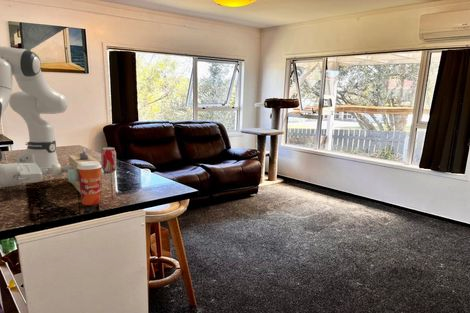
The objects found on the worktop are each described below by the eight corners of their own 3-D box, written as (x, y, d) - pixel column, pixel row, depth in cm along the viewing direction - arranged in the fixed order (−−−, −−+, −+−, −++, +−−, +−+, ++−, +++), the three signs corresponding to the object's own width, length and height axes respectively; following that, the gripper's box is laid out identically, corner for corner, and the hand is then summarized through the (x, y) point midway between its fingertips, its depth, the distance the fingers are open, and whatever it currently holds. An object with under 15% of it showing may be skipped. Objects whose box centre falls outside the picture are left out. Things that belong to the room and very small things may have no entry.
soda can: (111, 173, 164) (110, 149, 162) (99, 172, 166) (97, 148, 163) (119, 170, 171) (118, 147, 169) (107, 169, 172) (106, 146, 170)
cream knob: (53, 177, 137) (53, 165, 136) (52, 174, 141) (51, 163, 140) (87, 173, 144) (86, 162, 143) (84, 171, 148) (83, 160, 147)
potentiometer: (78, 159, 138) (77, 149, 137) (83, 158, 141) (83, 148, 140) (85, 160, 137) (84, 149, 136) (90, 158, 140) (89, 148, 139)
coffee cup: (81, 207, 116) (79, 166, 113) (76, 201, 122) (74, 162, 119) (106, 203, 121) (104, 164, 118) (100, 197, 127) (98, 160, 124)
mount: (81, 194, 130) (79, 165, 128) (70, 181, 147) (68, 155, 145) (102, 191, 135) (101, 163, 133) (89, 179, 152) (87, 153, 150)
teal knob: (70, 183, 129) (69, 171, 128) (68, 180, 133) (67, 168, 132) (104, 179, 137) (104, 167, 136) (101, 176, 140) (100, 165, 140)
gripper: (14, 172, 121) (55, 168, 129) (10, 161, 137) (48, 158, 146) (15, 188, 123) (57, 183, 131) (12, 176, 139) (49, 172, 147)
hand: (52, 170), depth 138 cm, fingers closed, pressing on cream knob
